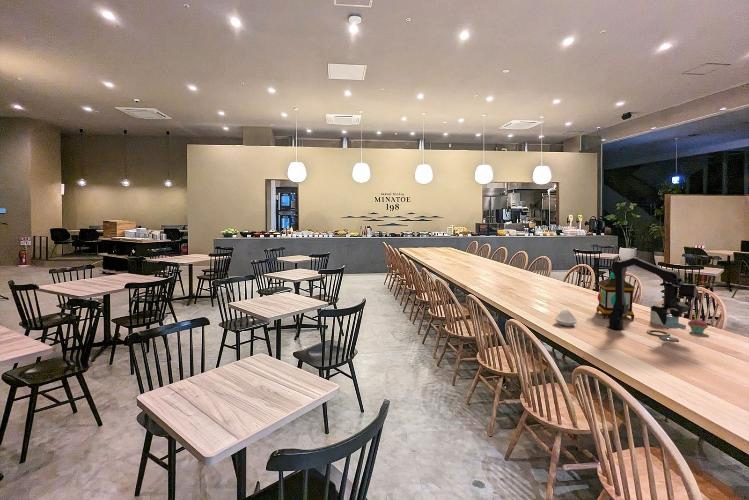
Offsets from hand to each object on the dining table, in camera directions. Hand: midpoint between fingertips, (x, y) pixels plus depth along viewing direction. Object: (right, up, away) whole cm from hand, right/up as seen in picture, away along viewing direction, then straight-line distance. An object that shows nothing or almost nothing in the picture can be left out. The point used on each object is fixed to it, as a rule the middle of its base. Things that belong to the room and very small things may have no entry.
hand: (669, 324), depth 205 cm
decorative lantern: (+1, -4, +48) cm, 49 cm away
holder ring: (+2, -7, +10) cm, 13 cm away
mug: (0, -2, -3) cm, 3 cm away
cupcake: (+25, -7, +12) cm, 28 cm away
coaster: (0, -8, +1) cm, 8 cm away
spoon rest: (-37, -6, +36) cm, 52 cm away
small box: (+17, -6, +31) cm, 36 cm away
